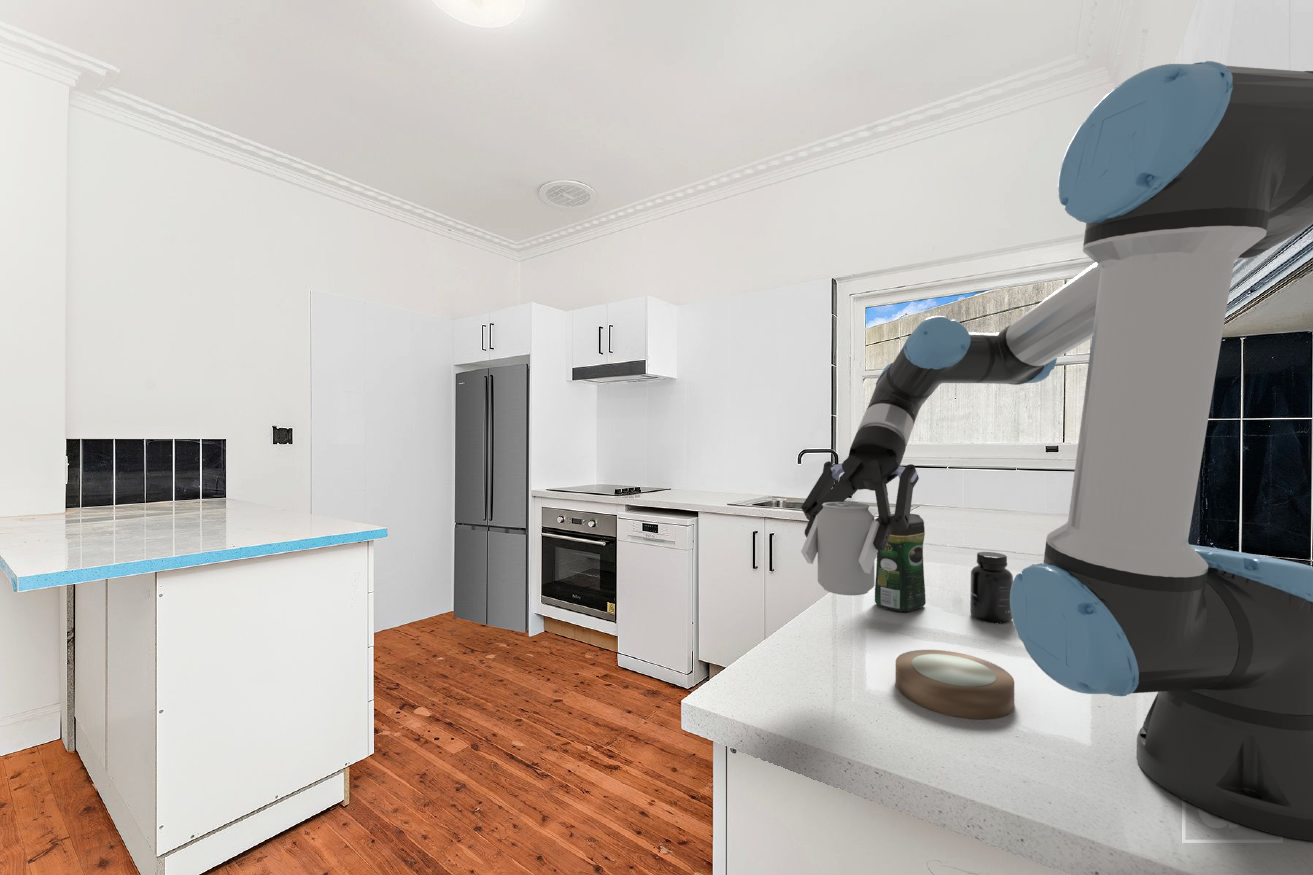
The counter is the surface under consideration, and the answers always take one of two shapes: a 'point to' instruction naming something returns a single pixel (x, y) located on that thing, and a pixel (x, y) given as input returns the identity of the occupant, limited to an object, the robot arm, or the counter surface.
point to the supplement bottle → (991, 588)
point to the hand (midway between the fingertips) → (834, 562)
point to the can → (843, 547)
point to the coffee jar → (902, 569)
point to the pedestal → (955, 684)
